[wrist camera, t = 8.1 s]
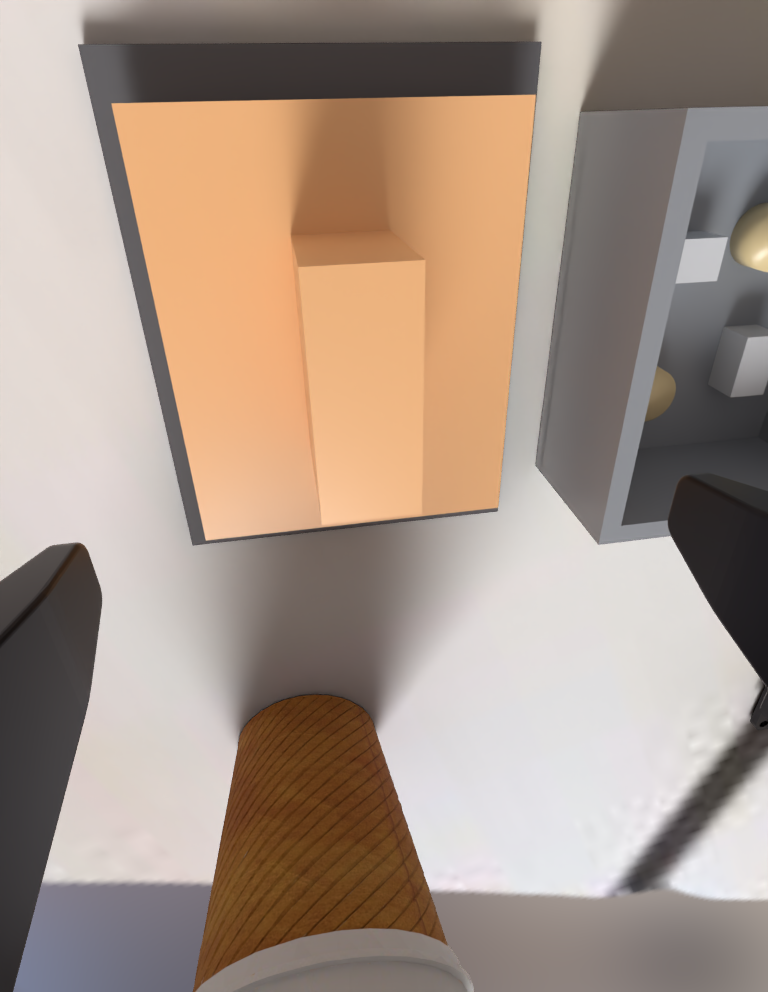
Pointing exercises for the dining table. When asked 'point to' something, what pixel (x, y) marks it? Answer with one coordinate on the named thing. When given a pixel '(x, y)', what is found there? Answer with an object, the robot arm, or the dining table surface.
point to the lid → (334, 298)
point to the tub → (659, 315)
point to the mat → (274, 77)
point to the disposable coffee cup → (319, 866)
